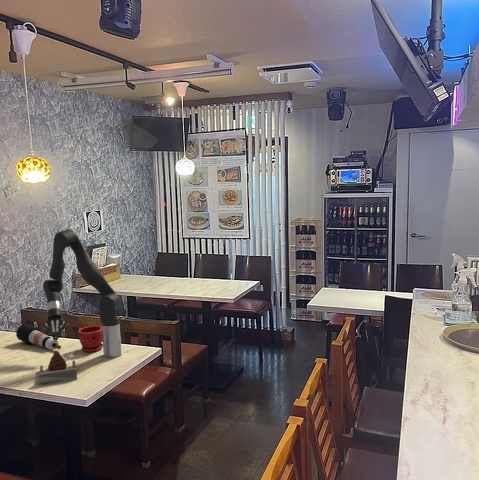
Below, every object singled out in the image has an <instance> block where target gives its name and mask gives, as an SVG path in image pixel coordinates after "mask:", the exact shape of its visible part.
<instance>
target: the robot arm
mask: <svg viewBox="0 0 479 480" xmlns="http://www.w3.org/2000/svg"><path fill="white" fill-rule="evenodd" d="M52 247H53V248H52V260H51V261H52V262H51V266H50V270H49V274H48V277H49V278H50V279H46V280H44V281H43V282H42V283H43V284H42V289H43V293H44V295H45V298H46V322H45V323H43V324H42V329H43V330H45V331H46V332H47V333H48V334H49V335H52V338H53V340H54V341H55V340H57V341H58V340H59V334H60V333H61V334H62V333H63V331H64V330H65V329H66V327H68V321H65V320H64V319H63V311H62V309H63V307H62V302H61V295H60V294H59V293H61V292H62V291H63V289H64V285H63V284H64V283H63V276H64V271H65V268H66V263H65V260H64V253H65V249H66V248H70V249H71V250H72V252H73V254H74V255H75V261H76V269H77V271H78V273H79V275H80V276H81V277H82V279H83V280H84V281H85V282H86V283H87V284H89V286H91V287H93V289H95V290H97V292H98V293H99V294H100V296H101V298H100V300H99V302H98V311H99V319H100V321H101V327H102V335H103V340H102V344H103V347H102V348H103V350H102V351H103V357H105V358H108V359H109V358H116V357H120V356H122V337H121V326H120V323H121V321H120V318H119V317H118V316H117V314H116V313H117V312H116V310H117V309H119V308H120V307H121V303H122V302H121V297H120V295H118V293H117V292H116V291H115V290H114V288H112V287H111V285H110V284H109V283H108V281H107V280H106V278H105V277H104V275H103V273H102V272H101V270H99V268H98V266H97V265H96V263H95V261H94V260H93V259H92V258H91V255H89V253H88V252H87V250H86V248H85V247H84V245H83V243H82V241H81V239H80V238H79V236H78V234H77V233H76V232H75V231H74V230H73V229H71V228H68V229H64V230H60V231H58V232H56V234H54V237H53V246H52Z"/></svg>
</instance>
